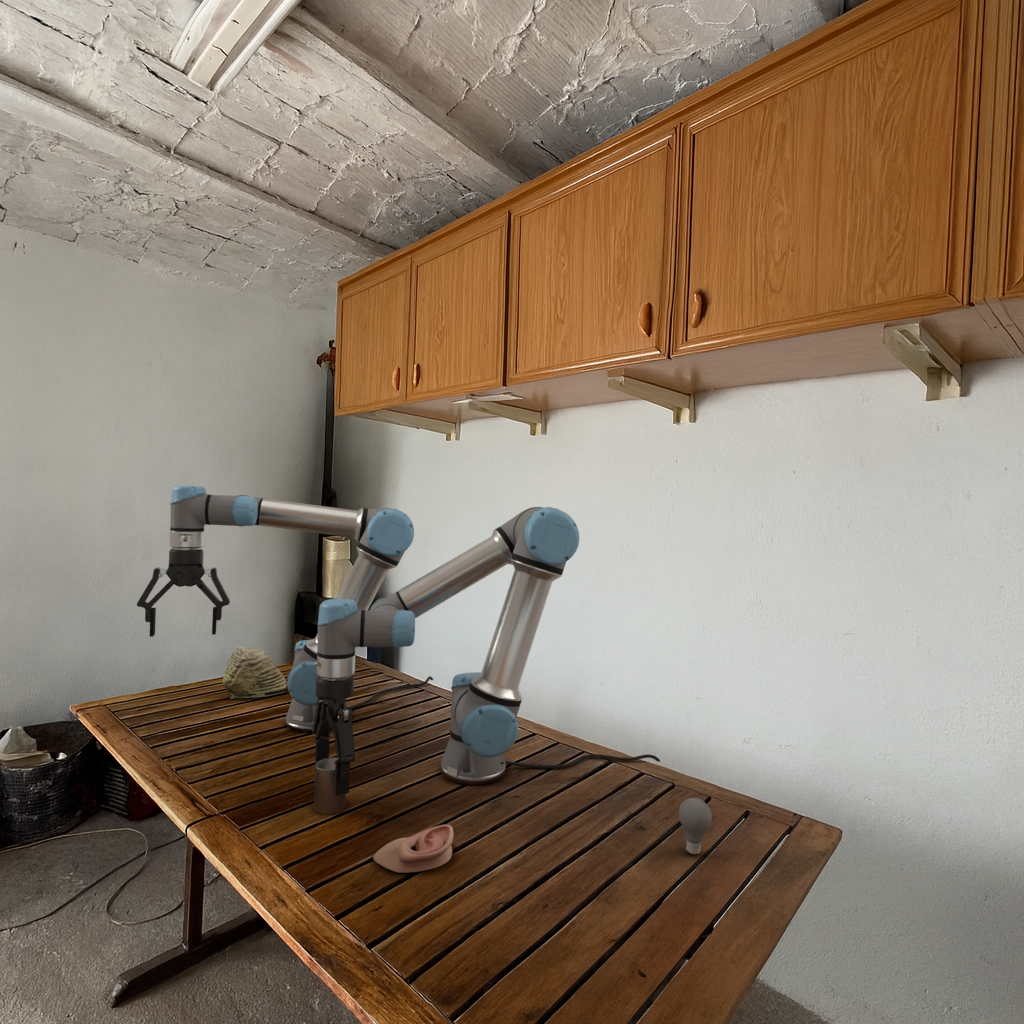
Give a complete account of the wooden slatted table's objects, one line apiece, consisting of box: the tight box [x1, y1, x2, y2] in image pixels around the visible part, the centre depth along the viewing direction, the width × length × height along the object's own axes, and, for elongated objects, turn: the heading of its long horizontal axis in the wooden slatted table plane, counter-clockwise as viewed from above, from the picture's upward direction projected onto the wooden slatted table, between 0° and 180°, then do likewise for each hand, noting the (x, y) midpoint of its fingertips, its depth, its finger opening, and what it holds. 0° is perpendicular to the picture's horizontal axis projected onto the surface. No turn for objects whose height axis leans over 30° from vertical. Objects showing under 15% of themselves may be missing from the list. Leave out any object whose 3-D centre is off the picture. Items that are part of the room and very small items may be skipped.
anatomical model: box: [372, 824, 455, 874], centre depth 113 cm, size 13×4×12 cm
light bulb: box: [677, 797, 713, 855], centre depth 118 cm, size 6×6×10 cm
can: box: [313, 757, 347, 815], centre depth 130 cm, size 6×6×9 cm
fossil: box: [222, 646, 288, 699], centre depth 198 cm, size 9×18×15 cm, turn 132°
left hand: (183, 634), depth 156 cm, fingers open, 13 cm apart
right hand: (331, 781), depth 130 cm, fingers open, 11 cm apart
